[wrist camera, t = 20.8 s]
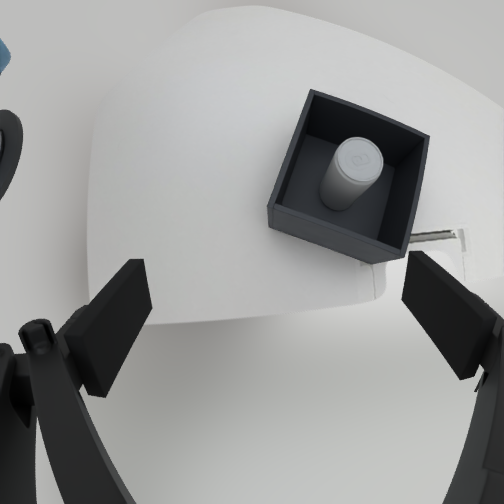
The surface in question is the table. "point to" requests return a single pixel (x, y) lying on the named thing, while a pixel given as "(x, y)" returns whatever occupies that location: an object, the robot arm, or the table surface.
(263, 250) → the table surface
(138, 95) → the table surface
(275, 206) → the trash bin
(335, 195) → the beverage can
